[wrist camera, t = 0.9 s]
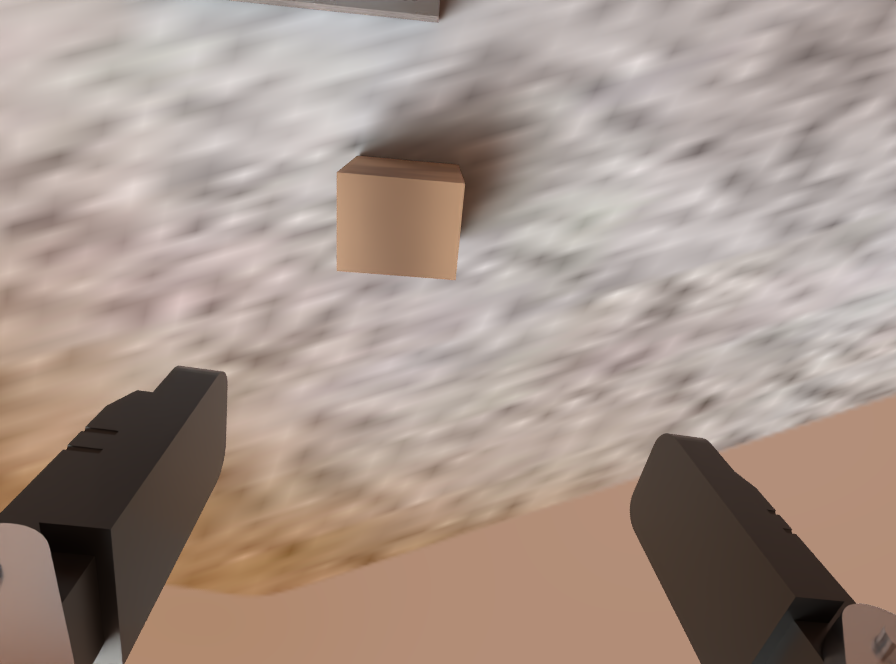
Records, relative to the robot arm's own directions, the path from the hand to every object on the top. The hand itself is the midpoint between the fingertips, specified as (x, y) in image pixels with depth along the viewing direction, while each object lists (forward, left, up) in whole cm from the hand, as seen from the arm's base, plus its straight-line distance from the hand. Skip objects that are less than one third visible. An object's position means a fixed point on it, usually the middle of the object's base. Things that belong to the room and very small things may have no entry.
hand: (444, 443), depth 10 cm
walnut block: (+2, -1, -19) cm, 19 cm away
